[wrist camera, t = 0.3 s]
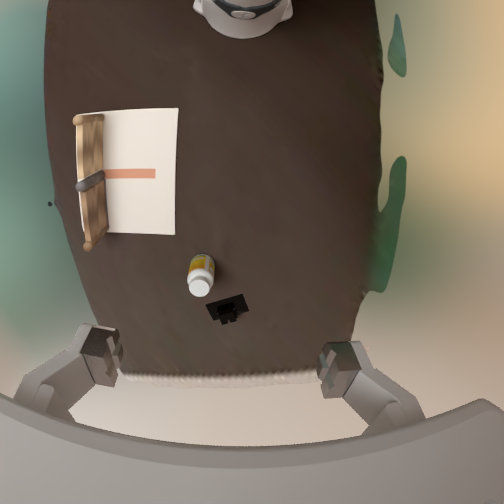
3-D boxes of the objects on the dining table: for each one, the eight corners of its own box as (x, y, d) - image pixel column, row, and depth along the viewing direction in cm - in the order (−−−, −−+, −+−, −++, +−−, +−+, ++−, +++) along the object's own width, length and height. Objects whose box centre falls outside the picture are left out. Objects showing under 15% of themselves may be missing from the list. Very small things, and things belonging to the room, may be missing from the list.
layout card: (77, 114, 45) (76, 114, 44) (178, 108, 47) (178, 108, 47) (84, 230, 57) (83, 231, 56) (175, 233, 59) (174, 234, 59)
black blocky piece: (209, 322, 72) (208, 335, 68) (198, 301, 68) (196, 313, 64) (255, 310, 71) (257, 322, 67) (246, 287, 68) (248, 299, 64)
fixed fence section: (97, 170, 51) (75, 182, 42) (104, 169, 51) (83, 181, 42) (102, 230, 57) (83, 251, 48) (109, 230, 57) (91, 251, 48)
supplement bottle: (219, 260, 63) (218, 284, 55) (207, 278, 65) (205, 303, 56) (197, 249, 61) (193, 272, 53) (186, 267, 63) (181, 292, 55)
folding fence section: (96, 113, 45) (72, 116, 36) (104, 113, 45) (81, 114, 36) (96, 168, 50) (74, 180, 41) (104, 168, 50) (82, 180, 41)
